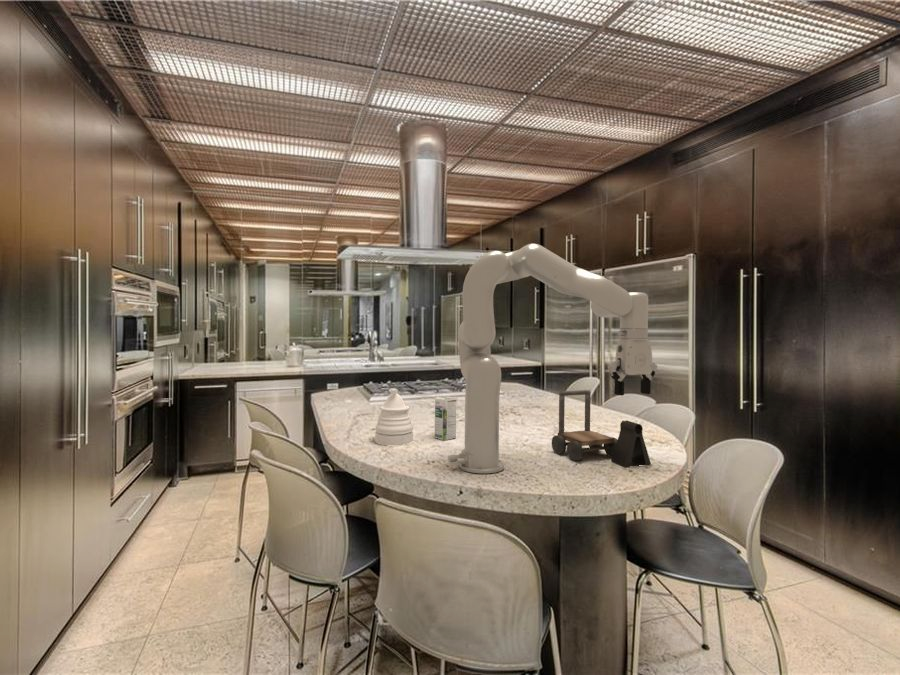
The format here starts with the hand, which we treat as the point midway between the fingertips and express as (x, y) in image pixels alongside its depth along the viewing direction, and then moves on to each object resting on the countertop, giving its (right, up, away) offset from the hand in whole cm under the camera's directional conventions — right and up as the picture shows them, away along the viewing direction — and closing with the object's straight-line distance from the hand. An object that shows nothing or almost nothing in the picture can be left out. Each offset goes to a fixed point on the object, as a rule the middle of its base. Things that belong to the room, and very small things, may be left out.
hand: (632, 394), depth 133 cm
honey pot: (-72, -19, +25) cm, 79 cm away
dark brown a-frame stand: (0, -20, 0) cm, 20 cm away
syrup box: (-55, -20, +30) cm, 65 cm away
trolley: (-11, -20, +9) cm, 24 cm away
